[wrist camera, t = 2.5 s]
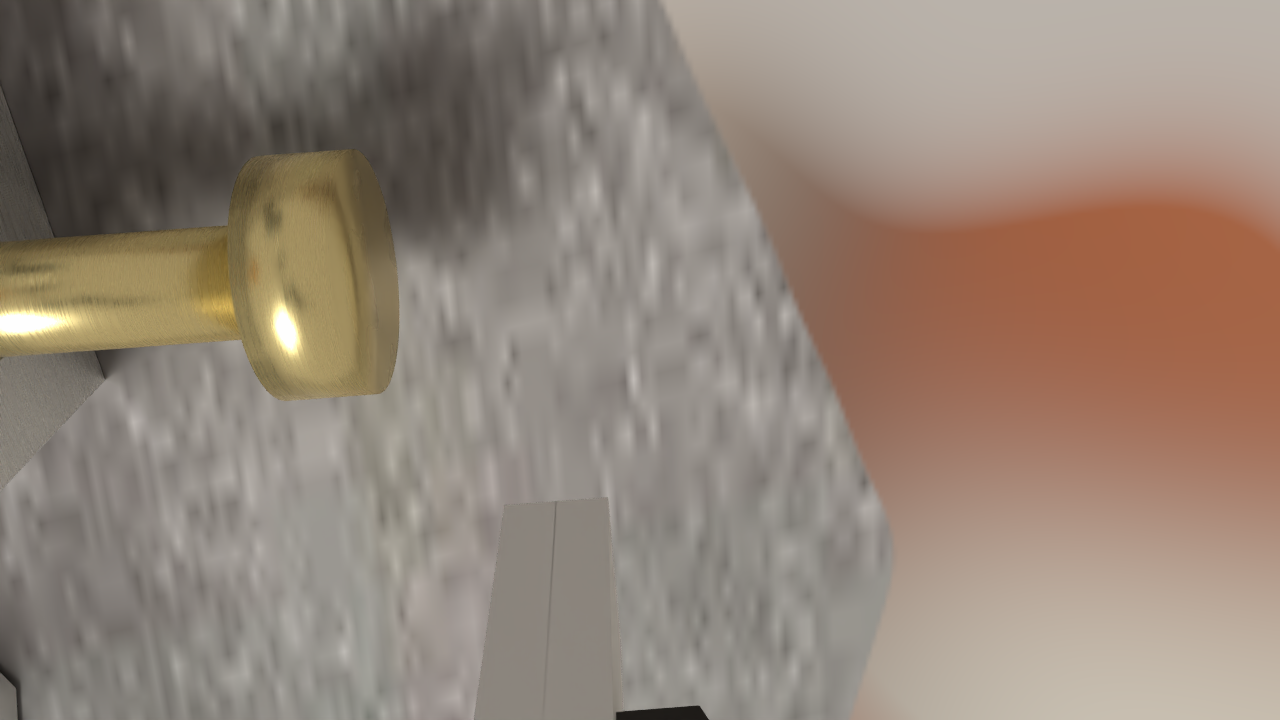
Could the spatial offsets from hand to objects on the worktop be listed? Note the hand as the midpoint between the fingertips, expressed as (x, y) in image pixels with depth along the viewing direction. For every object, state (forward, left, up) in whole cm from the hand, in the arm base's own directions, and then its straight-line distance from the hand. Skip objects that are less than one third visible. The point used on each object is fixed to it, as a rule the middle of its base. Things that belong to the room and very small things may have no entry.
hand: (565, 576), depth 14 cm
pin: (0, -13, -16) cm, 21 cm away
